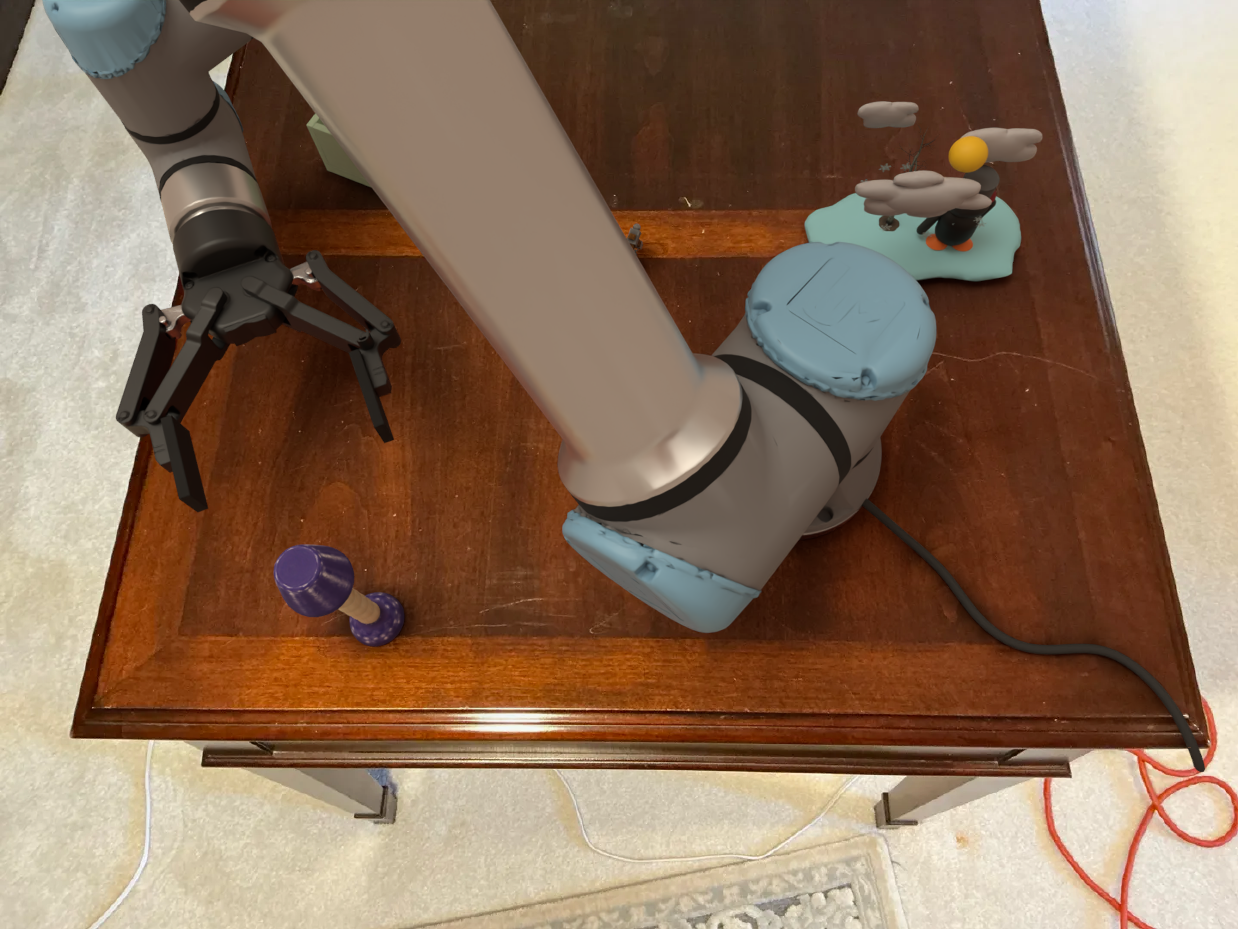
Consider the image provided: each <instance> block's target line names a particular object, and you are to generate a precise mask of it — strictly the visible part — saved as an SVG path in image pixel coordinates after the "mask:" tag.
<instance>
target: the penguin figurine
mask: <svg viewBox="0 0 1238 929" xmlns="http://www.w3.org/2000/svg"><path fill="white" fill-rule="evenodd" d="M918 112H919V105H918V104H917V103H915V102H911V101H894V102H891V101H886V100H885V101H883V100H881V101H880V100H879V101H873V102H869V103H866V104H863V105H862V106H860V107H859V108H858V110H857V117H859V118H861V119H862V123H863V124H862V125H863V127H865V128H868V129H882V128H887V127H890V128H907V127H908V128H909V127H912V126H914V125H915V123H916V121H917V116H916V115H915V113H918ZM918 128H919V130H920V131H919V132H922V128H921V126H918ZM928 129H929V126H928V127H927V129H926V131H925V133H924V134H923V136H920V138H921V143H920V146H919V150H917V151H915V152H914V153H912V154H911V152H912V150H909V153H908V151H906V150H904V149H903V148H902V146H901V145H900V143H899V146H900V147H898V149H901V150H903V151H904V153H906V154H908V159H906V161H907V162H906V164H901V166H902V167H900V170H903V171H904V172H903V173H902V172H901V173H899V174H897V175H894V177H893V179H874V180H868V178H865V179H864V180H860V182H859V183H857V184H856V185H855V187H854V193H851V194H849V195H847V196H846V197H843V198H842V199H840V200H839V201H837V202H836V203H834V204H832V205H830V206H826V207H821V208H818V209H816V210H814V211H812V212H811V213H810V214H809V215H808V216H807V217H806V219H805V221H804V230H805V234H806V237H807V241H808V243H811V242H822V243H824V244H833V243H835V242H846V243H852V244H856V245H860V246H863V247H866V248H869V249H872V250H874V251H877V252H879V253H881V254H883V255H885V256H886V257H888V258H890V259H891V260H893V261H895V262H896V263H898V264H899V265H900V266H902V267H903V268H904V269H905V270H906V271H907V272H909V273H910V274H911V275H912V276H913V277H914V279H915V280H916V281H917V282H918V281H923V280H930V279H937V278H941V279H954V280H955V279H956V280H962V281H967V282H968V281H969V282H981V281H989V280H994V279H999V278H1001V279H1002V278H1005V277H1008V276H1010V275H1012V274H1013V264H1014V263H1013V262H1014V260H1015V259H1014V258H1015V254H1016V251H1017V250H1018V249H1019V248H1020V247H1021V242H1022V231H1021V223H1020V220H1019V218H1018V216H1017V215H1016V213H1015V212H1014V211H1013V209H1012V208H1011V207H1010V206H1009V204H1007V202H1006V201H1004V200H1003V199H1002V198H1000V197H998V196H997V190H996V189H997V188H998V186H999V183H1000V181H1001V180H1000V175H999V173H998V172H997V171H996V169H995V168H993V167H991V166H989V165H987V164H985V163H993V162H999V161H1000V162H1004V163H1019V162H1020V163H1021V162H1025V161H1029V160H1031V159H1033V158H1035V156H1036V154H1037V151H1038V148H1037V146H1036V145H1035V144H1037V143H1041V142H1042V140H1043V133H1042V132H1041V131H1040V130H1038V129H1035V128H1024V127H1023V128H1022V127H1021V128H1018V127H1017V128H1015V127H1014V128H1003V127H985V128H980V129H975V130H971V131H968V132H966V133H965V134H963V135H962V136H961V137H960V138H959V139H957V140H956V141H955V142H953V144H952V145H951V147H950V149H949V151H948V156H947V157H948V162H949V164H950V166H951V168H953V169H954V170H955V171H957V172H959V173H963V174H964V175H963V177H953V176H951V177H950V176H943V175H942V174H940V173H939V172H937V171H932V170H920V169H922V168H924V169H927V166H929V165H928V164H927V163H926V160H923V163H922V164H921V166H920V165H918V162H919V160H918V158H919V156H920V154H921V152H922V149H924V147H927V146H928V147H930V149H931V150H933V151H934V149H933V148H931V146H934V144H932V143H933V142H934V141H936V139H937V137H939V135H940V134H939V135H937V137H935V138H934V139H933V140H931V141H930V142H928V143H927V142H925V143H924V140H925V135H926V133H927V131H928ZM908 146H911V145H910V143H908ZM911 156H912V157H913V159H912V163H911ZM924 163H926V166H924V165H923V164H924ZM891 167H892V166H891V165H888V163H885V164H884V165H882V164H881V167H880V168H879V169H878V171H882V172H884V171H890V168H891ZM913 168H914V169H913ZM906 170H907V171H906Z"/></svg>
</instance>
